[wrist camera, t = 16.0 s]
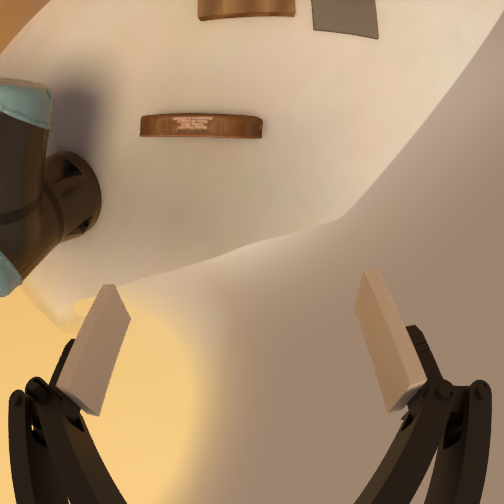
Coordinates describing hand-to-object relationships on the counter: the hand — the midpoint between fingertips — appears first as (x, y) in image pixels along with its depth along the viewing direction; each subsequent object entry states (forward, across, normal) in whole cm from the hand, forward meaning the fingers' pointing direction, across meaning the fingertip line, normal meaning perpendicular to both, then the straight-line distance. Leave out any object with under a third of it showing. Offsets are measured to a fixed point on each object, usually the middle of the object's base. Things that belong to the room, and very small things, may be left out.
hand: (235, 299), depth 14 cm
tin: (+28, -5, +5) cm, 29 cm away
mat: (+28, +15, +26) cm, 41 cm away
